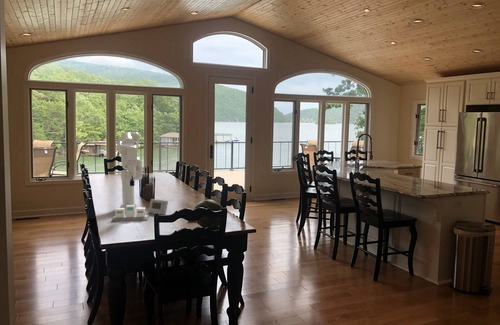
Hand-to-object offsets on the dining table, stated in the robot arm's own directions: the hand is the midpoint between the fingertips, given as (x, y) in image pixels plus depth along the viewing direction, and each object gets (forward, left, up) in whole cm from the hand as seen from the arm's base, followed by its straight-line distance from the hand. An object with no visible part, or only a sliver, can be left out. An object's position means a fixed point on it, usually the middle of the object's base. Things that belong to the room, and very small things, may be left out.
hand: (132, 185), depth 309 cm
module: (+12, 0, -21) cm, 24 cm away
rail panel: (+12, 0, -23) cm, 26 cm away
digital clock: (-2, +19, -23) cm, 30 cm away
